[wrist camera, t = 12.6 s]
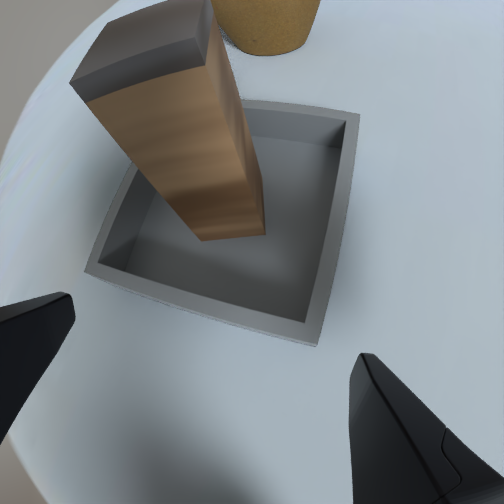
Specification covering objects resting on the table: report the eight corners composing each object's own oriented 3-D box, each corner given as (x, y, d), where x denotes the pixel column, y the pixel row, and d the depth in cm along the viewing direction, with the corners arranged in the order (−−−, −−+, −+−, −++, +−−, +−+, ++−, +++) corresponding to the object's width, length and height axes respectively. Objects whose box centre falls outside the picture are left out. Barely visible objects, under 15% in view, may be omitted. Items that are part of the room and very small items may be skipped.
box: (315, 346, 16) (317, 344, 13) (115, 286, 19) (83, 272, 16) (354, 148, 20) (360, 114, 17) (183, 127, 23) (168, 98, 20)
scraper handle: (265, 234, 18) (194, 37, 6) (201, 241, 19) (69, 83, 7) (262, 178, 20) (206, -11, 7) (203, 186, 20) (107, 22, 8)
